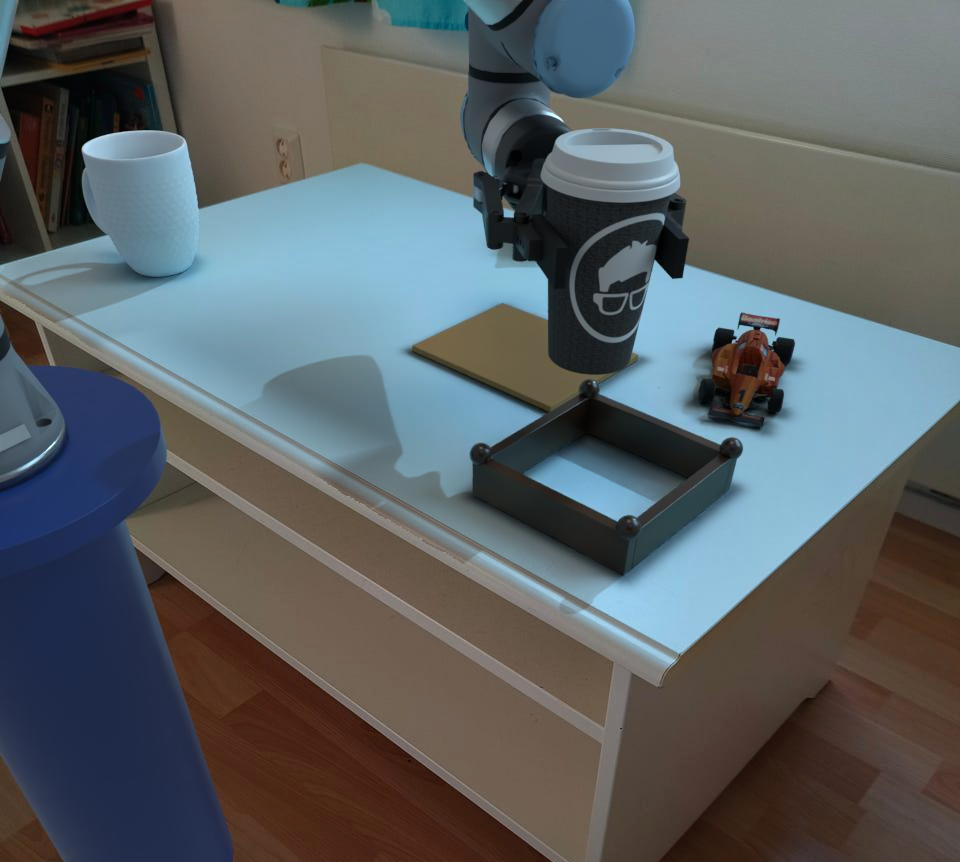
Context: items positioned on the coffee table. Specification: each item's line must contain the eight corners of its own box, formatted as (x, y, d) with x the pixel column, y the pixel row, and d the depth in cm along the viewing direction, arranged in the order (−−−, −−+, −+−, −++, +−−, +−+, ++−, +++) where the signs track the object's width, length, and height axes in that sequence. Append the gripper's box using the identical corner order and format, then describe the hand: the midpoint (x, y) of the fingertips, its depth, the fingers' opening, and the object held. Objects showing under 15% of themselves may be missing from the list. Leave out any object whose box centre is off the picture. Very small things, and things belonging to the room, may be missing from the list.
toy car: (690, 418, 81) (699, 373, 78) (714, 340, 92) (723, 299, 89) (777, 433, 79) (790, 388, 76) (791, 352, 90) (802, 310, 87)
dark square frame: (465, 495, 72) (464, 444, 68) (583, 421, 80) (588, 372, 77) (625, 580, 64) (633, 528, 61) (737, 488, 73) (749, 438, 69)
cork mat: (411, 351, 90) (411, 345, 89) (502, 307, 97) (502, 302, 97) (550, 412, 81) (550, 406, 81) (638, 360, 89) (638, 354, 88)
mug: (69, 267, 104) (31, 145, 95) (135, 237, 111) (105, 120, 102) (168, 292, 100) (137, 165, 90) (230, 258, 107) (207, 138, 97)
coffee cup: (655, 336, 72) (690, 132, 62) (643, 392, 66) (680, 173, 55) (540, 322, 74) (556, 119, 63) (517, 375, 67) (530, 158, 57)
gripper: (643, 200, 80) (750, 305, 64) (418, 215, 77) (472, 330, 61) (655, 106, 75) (775, 195, 59) (414, 118, 72) (472, 216, 56)
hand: (621, 263), depth 60 cm, fingers closed on coffee cup, 8 cm apart
